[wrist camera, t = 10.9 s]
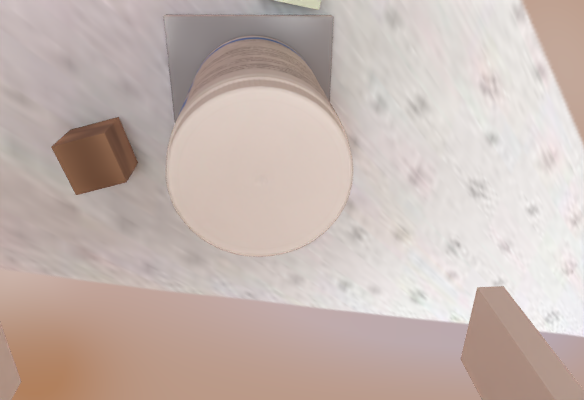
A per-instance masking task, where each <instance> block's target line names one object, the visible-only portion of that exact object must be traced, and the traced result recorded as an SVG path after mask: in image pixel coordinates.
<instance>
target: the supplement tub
mask: <svg viewBox="0 0 584 400" xmlns="http://www.w3.org/2000/svg"><path fill="white" fill-rule="evenodd" d="M352 179H353V162H352V156H351V152H350V148H349V143H348V139H347V136H346V133H345V130H344V128H343V126H342V124H341V122H340V120H339V118H338V116H337V114H336V112H335V111H334V109H333V107H332V105H331V104H330V102H329V100H328V98H327V97H326V95H325V93H324V91H323V90H322V88H321V86H320V84H319V83H318V81H317V79H316V77H315V75H314V74H313V72H312V70H311V69H310V67H309V66H308V64H307V63H306V62H305V60H304V59H303V58H302V57H301V56H300V55H299V54H298V53H297V52H296V51H295V50H294V49H292V48H291V47H290V46H288V45H286V44H284V43H282V42H280V41H278V40H275V39H272V38H268V37H263V36H244V37H239V38H236V39H233V40H230V41H228V42H226V43H224V44H222V45H220V46H219V47H217V48H216V49H215V50H214V51H212V52H211V53H210V54H209V55H208V56H207V57H206V59H205V60H204V61H203V62H202V64H201V65H200V67H199V69H198V71H197V73H196V75H195V77H194V80H193V82H192V84H191V87H190V89H189V91H188V93H187V96H186V98H185V100H184V103H183V105H182V108H181V110H180V112H179V115H178V117H177V119H176V122H175V125H174V128H173V130H172V133H171V137H170V140H169V145H168V149H167V163H166V181H167V187H168V192H169V195H170V198H171V201H172V203H173V205H174V207H175V210H176V211H177V213H178V214H179V216H180V217H181V219H182V220H183V221H184V223H185V224H186V225H187V226H188V227H189V228H190V229H191V230H192V231H193V232H194V233H195V234H196V235H198V236H199V237H200V238H202V239H203V240H204V241H206V242H208V243H210V244H211V245H213V246H215V247H217V248H219V249H222V250H224V251H227V252H230V253H234V254H238V255H244V256H254V257H263V256H274V255H279V254H284V253H287V252H291V251H293V250H296V249H299V248H301V247H303V246H305V245H307V244H309V243H310V242H312V241H314V240H315V239H317V238H318V237H319V236H321V235H322V234H323V233H324V232H325V231H326V230H327V229H328V228H329V227H330V226H331V225H332V224H333V223H334V222H335V221H336V219H337V218H338V216H339V215H340V213H341V212H342V210H343V208H344V206H345V204H346V202H347V199H348V197H349V194H350V190H351V186H352Z"/></svg>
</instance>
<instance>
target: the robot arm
mask: <svg viewBox="0 0 584 400" xmlns="http://www.w3.org/2000/svg"><path fill="white" fill-rule="evenodd" d="M461 361H462V363H463V365H464V367H465V369H466V370H467V372H468V374H469V376H470V378H471V380H472V382H473V384H474V386H475V387H476V389H477V391H478V393H479V395H480V397H481V399H482V400H584V390H583V388H582V387H581V386H580V384H579V383H578V382H577V381H576V379H575V378H574V377H573V375H572V374H571V373H570V372H569V370H568V369H567V368H566V366H565V365H564V364H563V363H562V361H561V360H560V359H559V358H558V356H557V355H556V354H555V352H554V351H553V350H552V348H551V347H550V346H549V345H548V343H547V342H546V341H545V339H544V338H543V337H542V335H541V334H540V333H539V332H538V330H537V329H536V328H535V326H534V325H533V324H532V323H531V321H530V320H529V319H528V317H527V316H526V315H525V314H524V312H523V311H522V310H521V308H520V307H519V306H518V305H517V303H516V302H515V301H514V299H513V298H512V297H511V295H510V294H509V293H508V292H507V290H506V289H505V288H504V286H501V287H477V291H476V296H475V300H474V304H473V308H472V313H471V317H470V321H469V326H468V330H467V334H466V339H465V343H464V347H463V351H462V356H461ZM20 383H21V380H20V377H19V374H18V371H17V368H16V365H15V362H14V359H13V356H12V354H11V351H10V348H9V345H8V342H7V339H6V336H5V334H4V331H3V328H2V325H1V322H0V400H11V399H12V397H13V395H14V394H15V392H16V390H17V388H18V387H19V385H20Z"/></svg>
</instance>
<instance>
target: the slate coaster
mask: <svg viewBox="0 0 584 400" xmlns="http://www.w3.org/2000/svg"><path fill="white" fill-rule="evenodd" d="M163 17H164V26H165V35H166V45H167V54H168V63H169V73H170V82H171V91H172V101H173V110H174V119H175V122H176V119H177V117H178V115H179V112H180V110H181V108H182V105H183V103H184V100H185V98H186V96H187V93H188V91H189V89H190V87H191V84H192V82H193V80H194V77H195V75H196V73H197V71H198V69H199V67H200V65H201V64H202V62H203V61H204V60H205V59H206V57H207V56H208V55H209V54H210V53H211V52H212V51H214V50H215V49H216V48H217V47H219V46H220V45H222V44H224V43H226V42H228V41H230V40H233V39H236V38H239V37H244V36H263V37H268V38H272V39H275V40H278V41H280V42H282V43H284V44H286V45H288V46H290V47H291V48H292V49H294V50H295V51H296V52H297V53H298V54H299V55H300V56H301V57H302V58H303V59H304V60H305V62H306V63H307V64H308V66H309V67H310V69H311V70H312V72H313V74H314V75H315V77H316V79H317V81H318V83H319V84H320V86H321V88H322V90H323V91H324V93H325V95H326V97H327V98H328V100H329V102H330V82H331V60H332V38H333V16H332V15H165V16H163Z"/></svg>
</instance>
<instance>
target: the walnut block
mask: <svg viewBox="0 0 584 400" xmlns="http://www.w3.org/2000/svg"><path fill="white" fill-rule="evenodd" d="M52 149H53V151H54V153H55V155H56V157H57V159H58V161H59V163H60V165H61V167H62V169H63V171H64V172H65V174H66V176H67V178H68V180H69V182H70V184H71V186H72V188H73V190H74V192H75V194H76V195H79V194H82V193H86V192H90V191H94V190H98V189H102V188H106V187H110V186H113V185H117V184H121V183H125V182H127V180H128V179H129V177H130V175H131V174H132V172H133V170H134V169H135V167H136V165H137V163H138V161H137V159H136V157H135V154H134V152H133V150H132V147H131V145H130V143H129V140H128V138H127V136H126V133H125V131H124V129H123V126H122V124H121V122H120V119H119V117H117V118H113V119H109V120H106V121H102V122H98V123H94V124H91V125H87V126H83V127H79V128H75V129H72V130H70V131H69V132H67V133H66V134H65V135H64V136H63V137H62V138H61V139H60V140H59V141H57V142H56V143H55V144H54V145H53V146H52Z"/></svg>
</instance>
